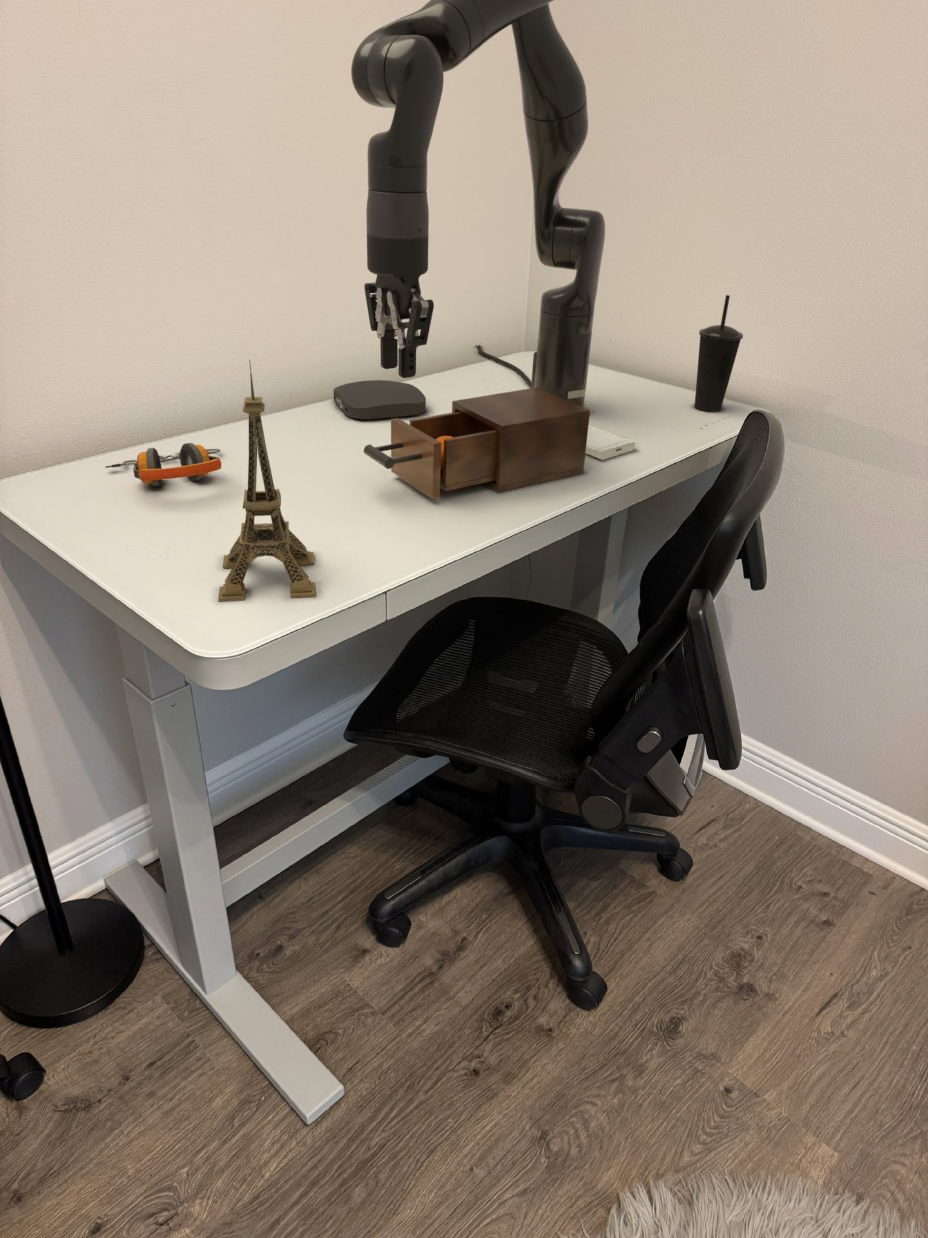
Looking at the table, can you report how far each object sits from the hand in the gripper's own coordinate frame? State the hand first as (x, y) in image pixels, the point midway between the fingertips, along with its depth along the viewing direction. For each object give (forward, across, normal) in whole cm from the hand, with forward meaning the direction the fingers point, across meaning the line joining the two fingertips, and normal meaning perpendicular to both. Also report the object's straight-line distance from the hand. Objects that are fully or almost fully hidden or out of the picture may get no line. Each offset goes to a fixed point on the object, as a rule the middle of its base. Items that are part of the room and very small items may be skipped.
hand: (397, 371), depth 117 cm
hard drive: (+17, +3, -38) cm, 42 cm away
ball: (+13, 0, -8) cm, 15 cm away
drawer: (+16, 0, -6) cm, 18 cm away
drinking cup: (+17, +8, -71) cm, 73 cm away
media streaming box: (+17, +36, -17) cm, 43 cm away
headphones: (+17, +20, +25) cm, 37 cm away
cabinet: (+17, 0, -21) cm, 27 cm away
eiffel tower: (+17, -14, +25) cm, 34 cm away
